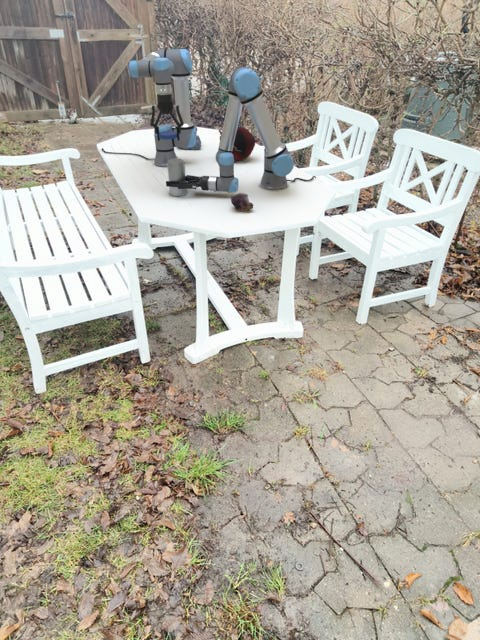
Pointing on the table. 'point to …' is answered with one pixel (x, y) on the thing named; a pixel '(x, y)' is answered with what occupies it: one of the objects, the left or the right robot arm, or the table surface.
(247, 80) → the right robot arm
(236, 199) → the rock
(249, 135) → the dark red rounded piece
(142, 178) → the table surface
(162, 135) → the lid
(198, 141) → the koala plush
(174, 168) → the jar
